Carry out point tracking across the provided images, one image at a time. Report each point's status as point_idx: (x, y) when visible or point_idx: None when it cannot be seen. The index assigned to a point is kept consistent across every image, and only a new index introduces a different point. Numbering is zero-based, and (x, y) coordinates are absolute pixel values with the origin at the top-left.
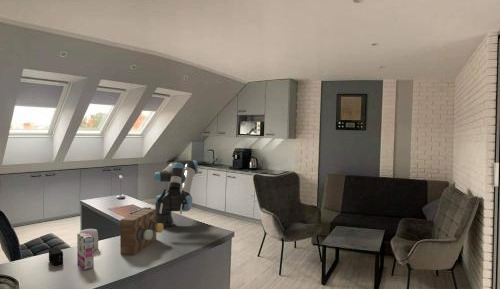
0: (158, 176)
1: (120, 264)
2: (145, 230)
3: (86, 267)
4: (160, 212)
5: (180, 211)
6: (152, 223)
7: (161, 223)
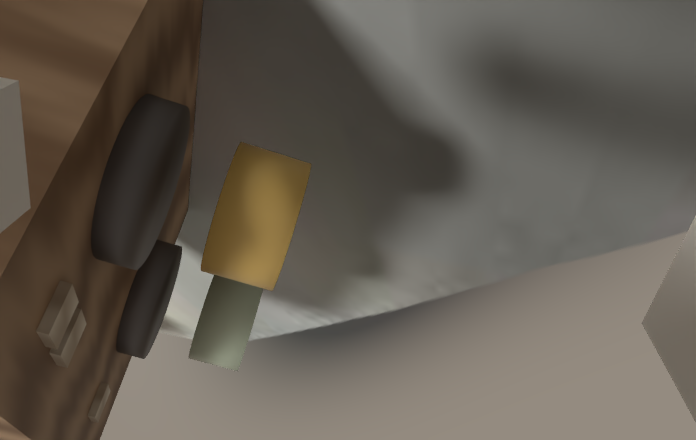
0: None
1: (182, 268)
2: (190, 358)
3: None
4: (27, 200)
5: (677, 366)
6: (138, 259)
7: (271, 282)
